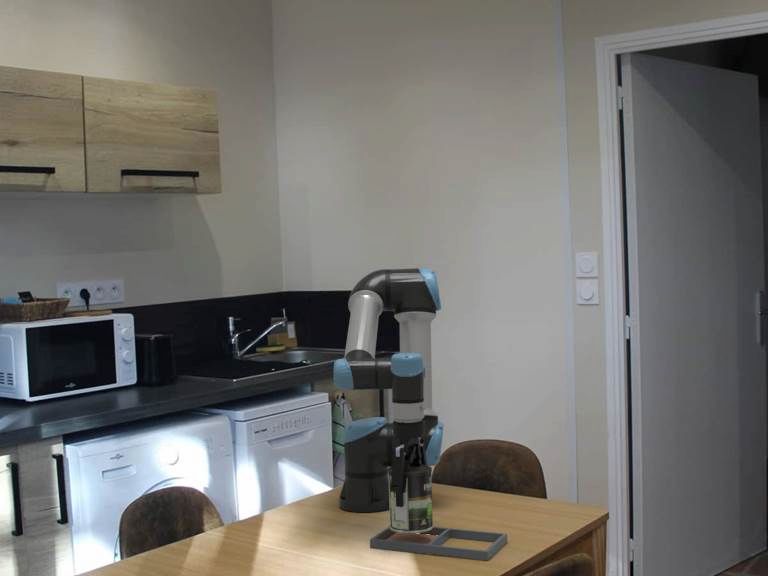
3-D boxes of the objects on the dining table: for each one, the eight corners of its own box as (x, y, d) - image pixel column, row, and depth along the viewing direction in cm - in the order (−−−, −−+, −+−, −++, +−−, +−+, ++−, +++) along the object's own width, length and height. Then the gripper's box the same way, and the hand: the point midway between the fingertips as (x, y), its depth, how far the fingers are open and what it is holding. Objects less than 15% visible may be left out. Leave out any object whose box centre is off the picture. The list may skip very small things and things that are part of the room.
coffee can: (436, 522, 234) (434, 463, 234) (429, 534, 224) (428, 473, 223) (393, 521, 236) (392, 463, 236) (385, 533, 226) (383, 472, 226)
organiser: (395, 530, 240) (395, 522, 240) (507, 542, 228) (507, 533, 228) (370, 547, 226) (369, 539, 226) (487, 560, 215) (487, 551, 215)
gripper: (404, 428, 217) (406, 528, 218) (440, 412, 238) (442, 504, 239) (373, 427, 220) (376, 525, 221) (412, 411, 241) (414, 501, 242)
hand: (410, 514), depth 230 cm, fingers closed on coffee can, 10 cm apart
